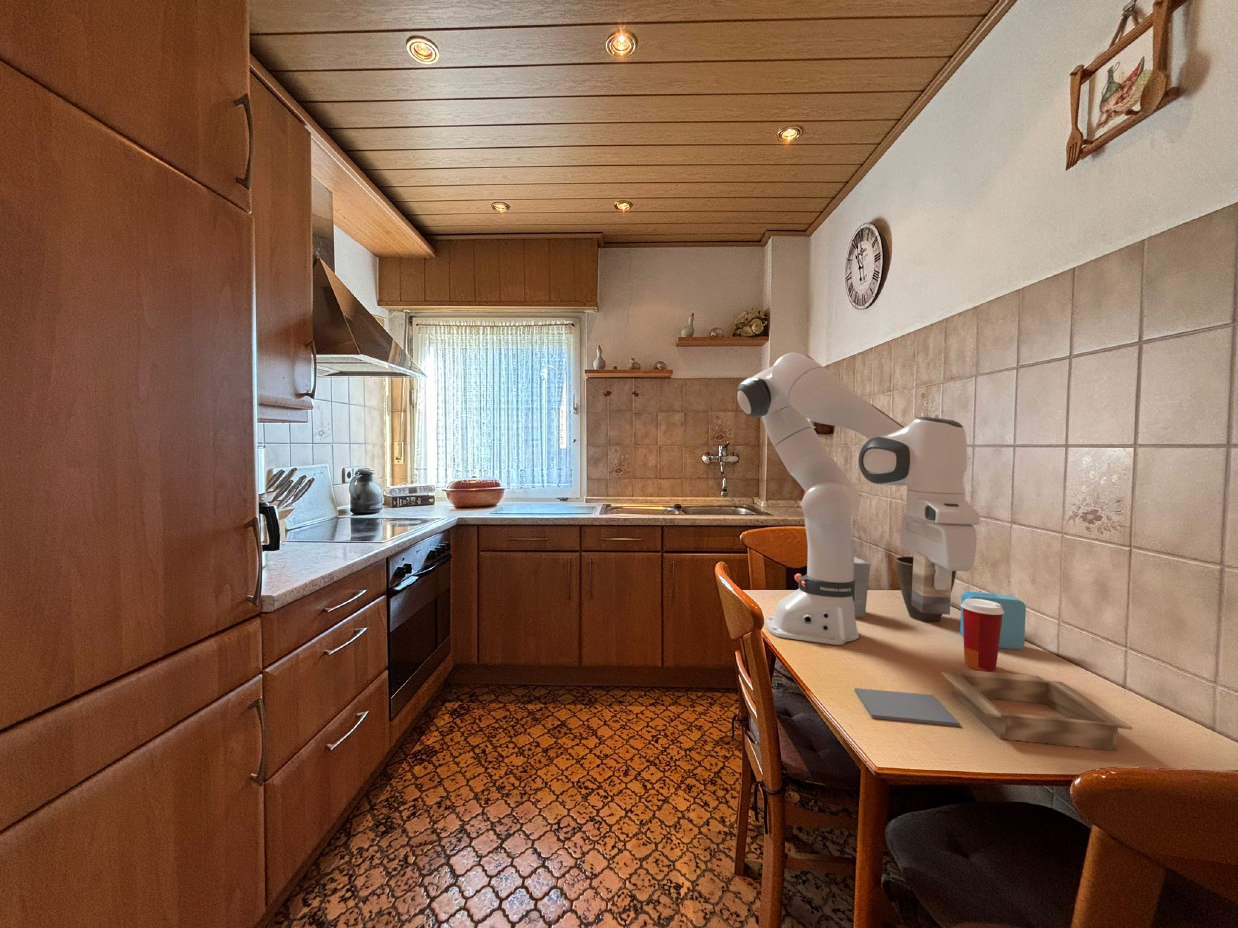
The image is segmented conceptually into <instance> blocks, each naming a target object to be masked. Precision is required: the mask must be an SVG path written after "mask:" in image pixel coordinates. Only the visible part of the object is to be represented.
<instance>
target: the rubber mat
mask: <svg viewBox="0 0 1238 928" xmlns="http://www.w3.org/2000/svg"><path fill="white" fill-rule="evenodd" d="M854 692H855V694H856V696H857V697H858V699H859V701H860V702H861V703H862V705H863V706H864V708H865V710H866V711H867V713H868V715H869V716H870V717H871V718H872V719H878V720H879V719H880V720H887V721H889V720H890V721H899V722H909V723H919V724H929V725H939V726H940V725H941V726H948V727H950V726H951V727H959V726H961V723H960V722H959V721H958V720H957V718H955V715H953V714H952V713H951V712H950V711H949V710H948V709H947V708H946V707H945V705H943V704H942V702H940V701H939V699H937V698H936V696H935V695H933V694H925V693H915V692H904V691H891V690H883V689H882V690H881V689H880V690H879V689H872V688H871V689H870V688H869V689H868V688H859V687H856V688H855V687H854Z"/></svg>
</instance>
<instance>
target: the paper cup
mask: <svg viewBox="0 0 1238 928" xmlns="http://www.w3.org/2000/svg"><path fill="white" fill-rule="evenodd" d="M962 603H963V604H961V603H960V608H961V607H963V633H964V637H963V655H964V656H963V657H964V664H965V666H967V667H969V668H971V669H974V670H975V671H983V672H994V671H996V670H997V665H998V664H997V663H998V655H999V640H1000V632H1001V624H1002V614H1004V611H1003V610H1002V606H1001V605H1000V604H998V603H995V602H992V601H988V600H982V599H965V600H964V601H963V602H962Z"/></svg>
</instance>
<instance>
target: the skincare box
mask: <svg viewBox="0 0 1238 928" xmlns="http://www.w3.org/2000/svg"><path fill="white" fill-rule="evenodd" d="M870 568H871V564H870V563H869V562H867V561H864V559H860V558H858V557H855V556H854V580H855V585H856V595H855V601H854V613H855V618H857V617H859V618H861V617H862V618H865V617H866V612H867V611H866V610H867V609H866V608H867V600H868V599H867V598H868V588H869V579H870Z"/></svg>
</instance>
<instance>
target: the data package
mask: <svg viewBox="0 0 1238 928" xmlns="http://www.w3.org/2000/svg"><path fill="white" fill-rule="evenodd" d="M965 599H982V600H988V601H992V602H995V603H998V604H1000V605H1001V606H1002V610H1003V611H1004V614H1002V624H1001V632H1000V640H999V648H1000V649H1009V650H1015V649H1016V650H1022V649H1023V648H1024V646H1025V640H1026V639H1025V635H1026V634H1025V633H1026V613H1027V612H1026V611H1027V609H1026V608H1027V605H1026V604H1025V602H1023V601H1022V600H1020V599H1019V598H1017V597H1015V596H1013V595H1012V594H1001V593H1000V594H999V593H991V592H990V593H987V592H978V591H976V592H975V591H965V592H964V593H962V595H961V603H960V605H961V604H963V603H962V602H963V601H964V600H965ZM959 628H960V631H959V633H960V635H961V637H963V638H964V633H963V607H961V606H960V626H959ZM1016 650H1015V651H1016Z"/></svg>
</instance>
